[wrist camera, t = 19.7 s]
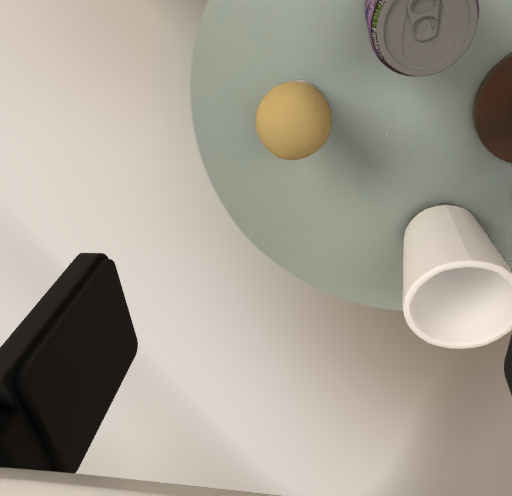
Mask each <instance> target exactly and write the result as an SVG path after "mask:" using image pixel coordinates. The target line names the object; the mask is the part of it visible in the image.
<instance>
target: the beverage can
mask: <svg viewBox="0 0 512 496" xmlns="http://www.w3.org/2000/svg"><path fill="white" fill-rule="evenodd" d="M365 17H366V22H367V27H368V33H369V38H370V42H371V45H372V48H373V50H374V52H375V54H376V56H377V57H378V58H379V60H380V61H381V62H382V63H383V64H384V65H385V66H386V67H388V68H389V69H391V70H392V71H394V72H396V73H399V74H402V75H406V76H426V75H431V74H435V73H438V72H440V71H442V70H444V69H446V68H448V67H449V66H451V65H452V64H453V63H455V62H456V61H457V60H458V59H459V58H460V57H461V56H462V55H463V53H464V52H465V51H466V50H467V48H468V46H469V45H470V43H471V41H472V39H473V36H474V34H475V30H476V27H477V23H478V17H479V3H478V0H366V2H365Z"/></svg>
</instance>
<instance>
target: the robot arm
mask: <svg viewBox="0 0 512 496" xmlns="http://www.w3.org/2000/svg"><path fill="white" fill-rule="evenodd" d="M137 348H138V342H137V337H136V334H135V331H134V327H133V324H132V320H131V317H130V314H129V310H128V307H127V303H126V300H125V297H124V293H123V290H122V286H121V283H120V279H119V276H118V273H117V270H116V266H115V263H114V262H113V260H111V259H108V257H107V256H106V255H105V254H103V253H80V254H79V255H78V256H77V257H76V258H75V259H74V260H73V262H72V263H71V264H70V265H69V266H68V268H67V269H66V270H65V271H64V272H63V273H62V275H61V276H60V277H59V278H58V279H57V281H56V282H55V283H54V284H53V285H52V287H51V288H50V289H49V290H48V291H47V293H46V294H45V295H44V296H43V297H42V298H41V300H40V301H39V302H38V303H37V304H36V306H35V307H34V308H33V309H32V311H31V312H30V313H29V314H28V315H27V316H26V318H25V319H24V320H23V321H22V322H21V324H20V325H19V326H18V327H17V328H16V329H15V331H14V332H13V333H12V334H11V335H10V337H9V338H8V339H7V340H6V341H5V343H4V344H3V345H2V346H1V347H0V496H278V495H270V494H261V493H252V492H243V491H234V490H225V489H215V488H206V487H197V486H188V485H179V484H169V483H160V482H150V481H141V480H131V479H121V478H112V477H102V476H93V475H84V474H75V473H76V471H77V470H78V468H79V466H80V464H81V462H82V460H83V458H84V456H85V454H86V452H87V450H88V448H89V446H90V445H91V443H92V440H93V439H94V436H95V435H96V433H97V430H98V429H99V427H100V425H101V423H102V421H103V419H104V417H105V415H106V413H107V411H108V409H109V407H110V405H111V402H112V401H113V399H114V397H115V395H116V393H117V391H118V389H119V387H120V385H121V383H122V381H123V379H124V377H125V375H126V373H127V371H128V369H129V367H130V365H131V363H132V361H133V359H134V357H135V355H136V352H137ZM504 372H505V377H506V380H507V383H508V386H509V389H510V392H511V395H512V335H511V339H510V343H509V346H508V350H507V354H506V357H505V362H504Z"/></svg>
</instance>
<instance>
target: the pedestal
mask: <svg viewBox="0 0 512 496" xmlns="http://www.w3.org/2000/svg"><path fill="white" fill-rule="evenodd" d="M473 119H474V126H475V130H476V132H477V134H478V137H479V138H480V140H481V142H482V143H483V145H484V146H485V147H486V148H487V149H488V150H489V151H490V152H491V153H492V154H493V155H495V156H496V157H498V158H500V159H502V160H505V161H507V162H511V163H512V53H511V54H509V55H508V56H507V57H505V58H504V59H503V60H502V61H500V62H499V63H498V64H497V65H496V66H495V67H494V68H493V69H492V70H491V72H490V73H489V74H488V76H487V77H486V78H485V80H484V81H483V83H482V85H481V87H480V89H479V91H478V93H477V96H476V99H475V104H474V110H473Z"/></svg>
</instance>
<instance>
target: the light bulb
mask: <svg viewBox="0 0 512 496" xmlns="http://www.w3.org/2000/svg"><path fill="white" fill-rule="evenodd" d="M331 124H332V118H331V111H330V107H329V104H328V102H327V100H326V99H325V97H324V96H323V95H322V93H321V92H320V91H318V90H317V89H316V88H315V87H314V85H313V84H311V83H310V82H308V81H305V80H296V81H292V82H286V83H283V84H280V85H278V86H276V87H274V88H273V89H271V90H270V91H269V92H268V93H267V94H266V95H265V96H264V98H263V99H262V101H261V102H260V104H259V107H258V109H257V113H256V129H257V132H258V135H259V137H260V140H261V141H262V143H263V144H264V146H265V147H266V148H267V149H268V150H269V151H270V152H271V153H273V154H274V155H275V156H277V157H279V158H282V159H286V160H297V159H302V158H305V157H307V156H310V155H311V154H313V153H315V152H316V151H317V150H318V149H320V148H321V146H322V145H323V144H324V143H325V141H326V140H327V138H328V136H329V133H330V130H331Z"/></svg>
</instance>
